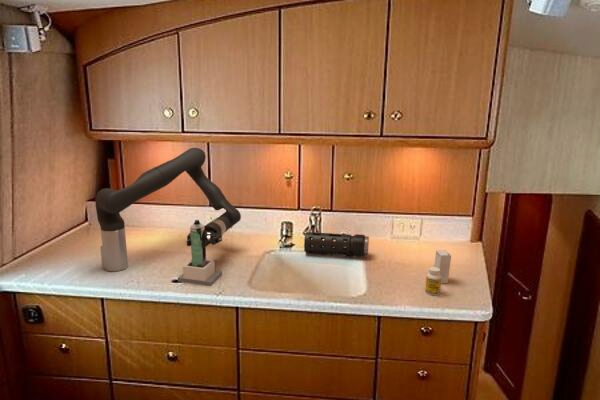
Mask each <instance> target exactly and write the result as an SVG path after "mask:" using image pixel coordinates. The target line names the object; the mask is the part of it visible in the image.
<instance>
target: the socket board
mask: <svg viewBox="0 0 600 400" xmlns="http://www.w3.org/2000/svg"><path fill="white" fill-rule="evenodd" d="M222 275H223V272H222V271H219V270H218V271H217V270H216V268H215V260H212V259H206V266H205V267H204V268H200V267H192V259H190V261H188V262H187V263H186V264H184V265H183V266H182V273H181V274H180V275H179V276H178V277H177V282H178V283H179V282H180V283H187V284H193V285H195V284H196V285H201V286H208V287H209V286H212V285H213V284H214V283H215V282H216V281H218V279H219V278H221V277H222Z"/></svg>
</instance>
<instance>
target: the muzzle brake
mask: <svg viewBox="0 0 600 400" xmlns="http://www.w3.org/2000/svg"><path fill="white" fill-rule="evenodd" d="M304 234H305V235H304V239H303V240H304V242H303V243H304V244H303V248H304V252H305V253H306V254H308V255H309V254H311V255H324V256H325V255H326V256H327V255H330V256H333V255H343V256H345V257H350V258H354V257H355V256H356V257H365V256H368V255H369V244H370V241H369V239H370V237H369V236H366V235H365V234H359V233H358V234H354V235H352V234H347V233H346V234H345V233H330V232H329V233H328V232H311V231H306V232H305V233H304Z"/></svg>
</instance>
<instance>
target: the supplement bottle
mask: <svg viewBox="0 0 600 400" xmlns="http://www.w3.org/2000/svg"><path fill="white" fill-rule="evenodd" d="M439 273H440V269H439V268H437V267H434V266H431V267H429V268H428V273H427V274H426V276H425V277H426V278H425V279H426V281H425V288H424V289H425V294H427V293H428V294H427V295H429V294H430V296H439V295H440V294H441V287H442V286H441V285H442V284H441V275H440V274H439ZM438 294H439V295H438Z"/></svg>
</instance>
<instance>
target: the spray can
mask: <svg viewBox="0 0 600 400" xmlns="http://www.w3.org/2000/svg"><path fill="white" fill-rule="evenodd" d="M204 226H205V225H204V224H202V223H201V222H200V219H195V220H194V222H193V224H191V225H190V227H189V228H190V229H189V231H190V232H189V233H190V236H191V246H190V249H191V251H190V252H191V260H192V267H200V268H204V267H205V266H206V260H207V249H206V247H207V246H206V247H204V248H202V245H201V243H202V242H203V241H204V240H205V228H204Z"/></svg>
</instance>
